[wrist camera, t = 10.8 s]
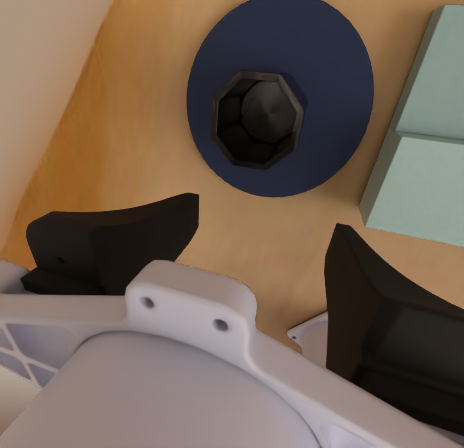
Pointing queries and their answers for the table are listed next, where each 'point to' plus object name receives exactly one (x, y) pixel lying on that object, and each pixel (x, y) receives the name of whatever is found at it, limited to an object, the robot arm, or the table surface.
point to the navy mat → (306, 76)
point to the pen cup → (258, 118)
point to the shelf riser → (425, 143)
